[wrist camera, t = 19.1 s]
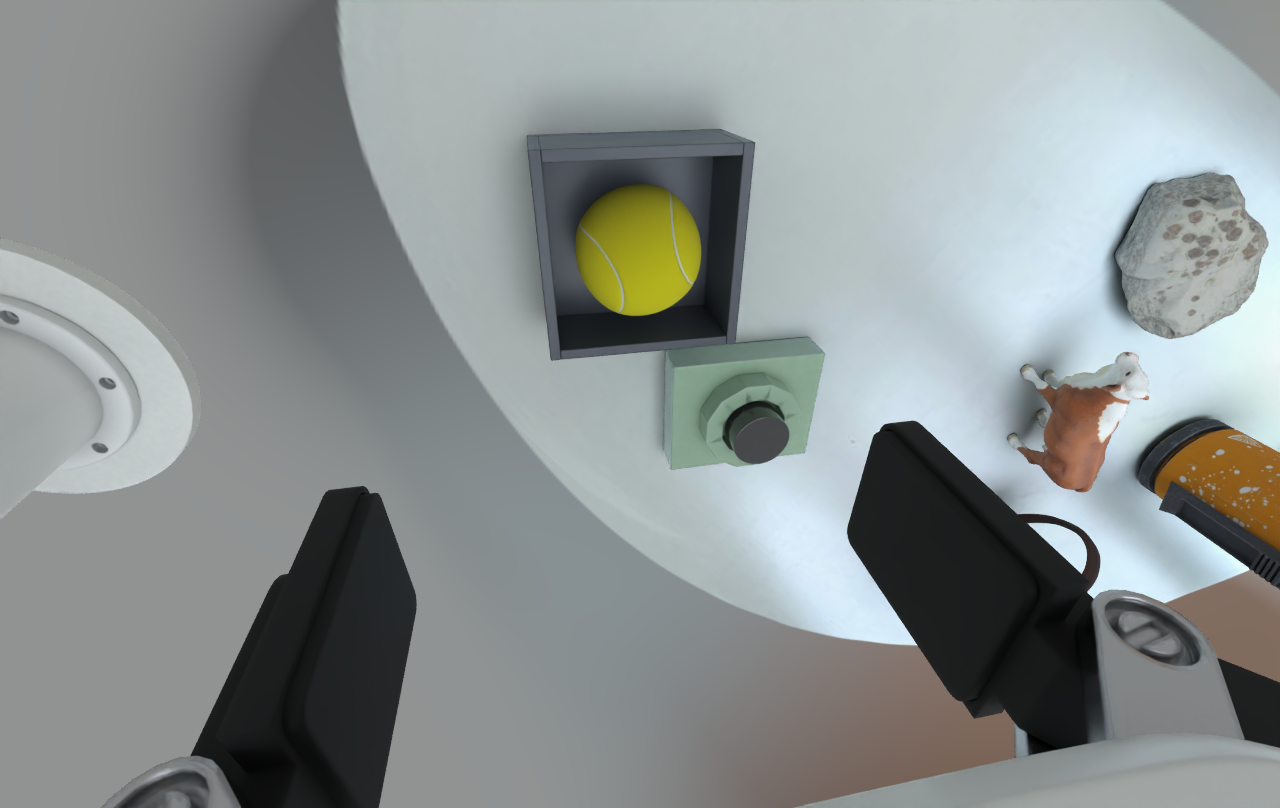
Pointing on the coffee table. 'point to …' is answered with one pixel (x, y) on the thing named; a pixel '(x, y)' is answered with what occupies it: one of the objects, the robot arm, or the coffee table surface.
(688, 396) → the push button base
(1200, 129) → the coffee table surface
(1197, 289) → the decorative stone
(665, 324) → the bin
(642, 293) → the tennis ball
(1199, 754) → the robot arm
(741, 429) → the button top
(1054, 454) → the bull figurine
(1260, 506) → the canister
